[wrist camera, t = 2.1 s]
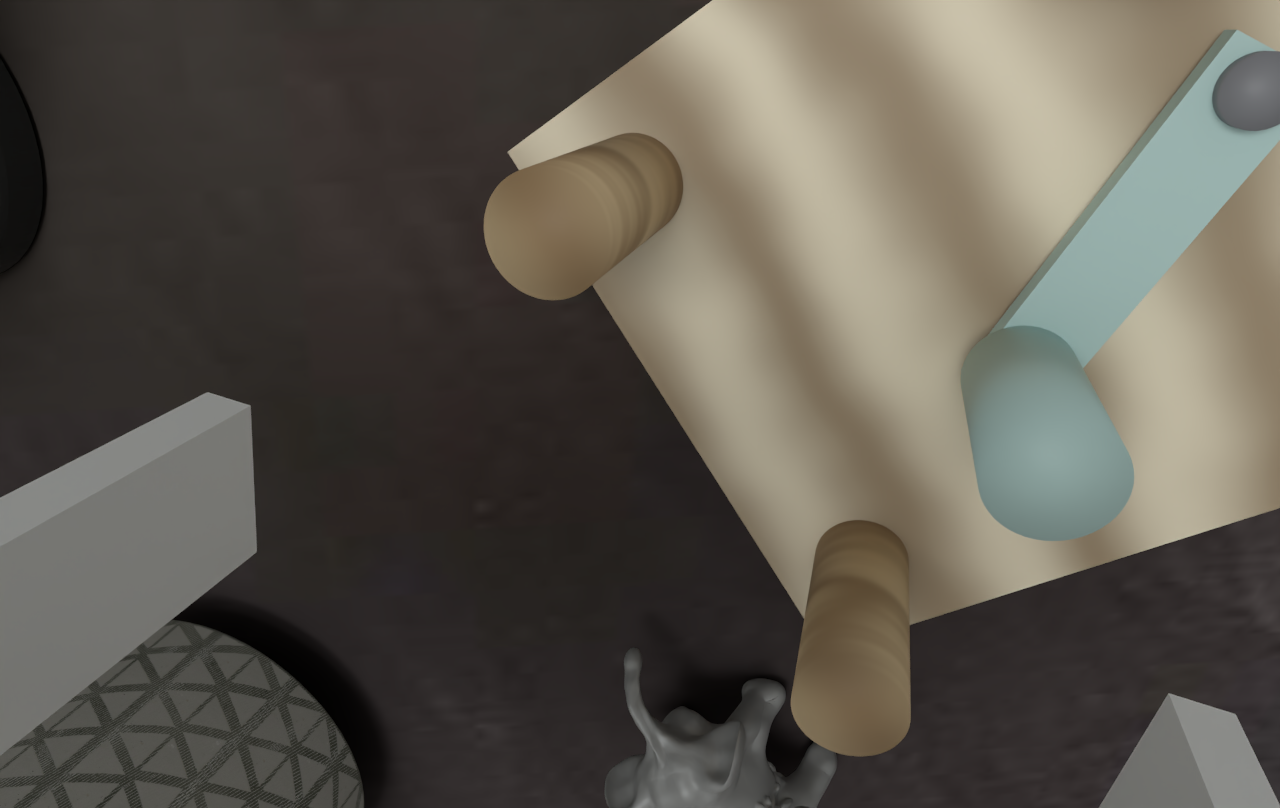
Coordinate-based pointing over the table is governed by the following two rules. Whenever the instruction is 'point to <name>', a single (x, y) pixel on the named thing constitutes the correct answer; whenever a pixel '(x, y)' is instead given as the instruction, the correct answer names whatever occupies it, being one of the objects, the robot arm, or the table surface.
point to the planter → (185, 735)
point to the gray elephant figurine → (713, 756)
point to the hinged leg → (1108, 300)
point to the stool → (900, 290)
